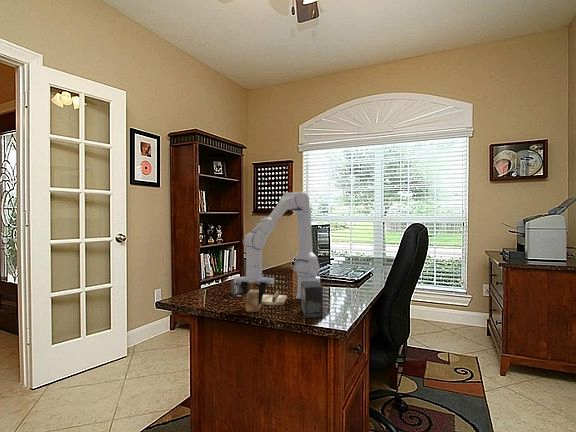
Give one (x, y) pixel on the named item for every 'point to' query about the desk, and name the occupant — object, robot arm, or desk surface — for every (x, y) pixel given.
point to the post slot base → (274, 299)
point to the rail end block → (252, 301)
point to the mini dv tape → (235, 288)
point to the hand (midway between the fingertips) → (253, 303)
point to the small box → (312, 299)
